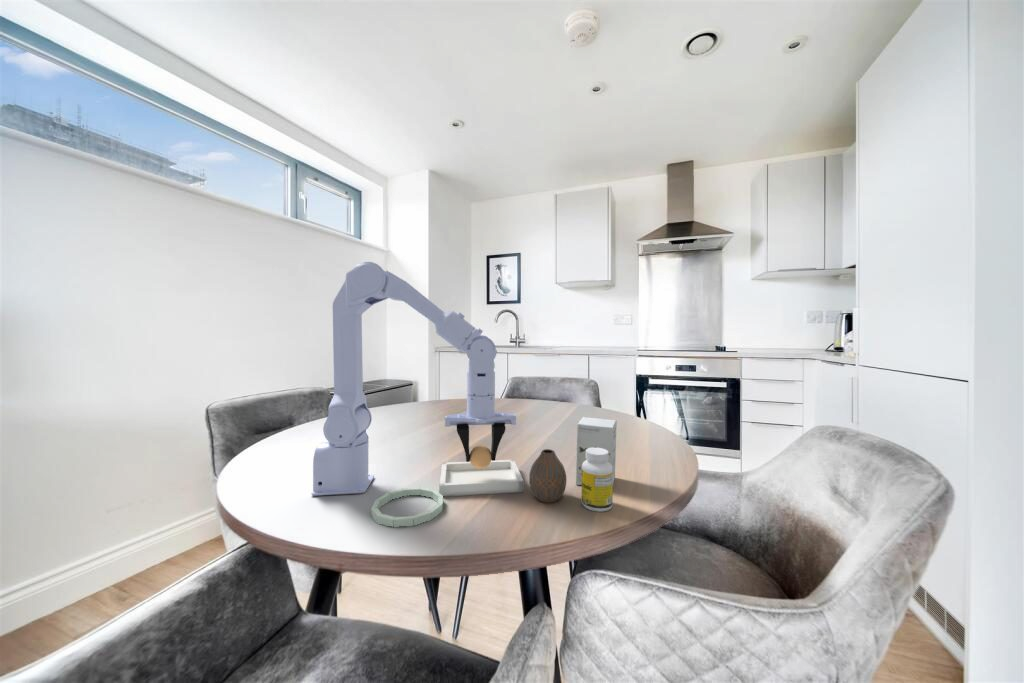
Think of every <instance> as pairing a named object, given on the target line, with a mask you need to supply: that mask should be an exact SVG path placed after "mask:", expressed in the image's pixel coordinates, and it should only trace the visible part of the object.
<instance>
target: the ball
mask: <svg viewBox="0 0 1024 683" xmlns="http://www.w3.org/2000/svg"><path fill="white" fill-rule="evenodd" d="M469 454H470V462H471V464H472V465H473V466H474V467H475V468H478V469H483V468H485V467H487V466H488V465H489V464H490V462H491V461H492V454H491V449H490V448H488V446H485V445H477V446H475V447H473V448H472V449H471V451H469Z"/></svg>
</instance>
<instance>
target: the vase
mask: <svg viewBox="0 0 1024 683" xmlns="http://www.w3.org/2000/svg"><path fill="white" fill-rule="evenodd" d="M530 467H531V468H530V470H529V475H528V481H529V488H530V491H531V493H532V494H533V496H534V497H535V498H536V499H537V500H538V501H539V502H542V503H548V504H549V503H551V504H552V503H555V502H557V501H559V500H560V499H561V498H562V497H563V495H564V493H565V491H566V488H567V472H566V469H565V467H564V464H563V463H562V461H561V460H560V459H559V457H558V456H557V455H556V451H555V450H553V449H550V448H549V449H548V448H546V449H542V450H541V452H540V454H539V456H538V457H537V458H536V459H535V461H534V462H533V463H532V465H531V466H530Z"/></svg>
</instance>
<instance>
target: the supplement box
mask: <svg viewBox="0 0 1024 683" xmlns="http://www.w3.org/2000/svg"><path fill="white" fill-rule="evenodd" d="M617 424H618V420H615V419H606V418H598V417H588V416H587V417H586V416H582V418H581V419H580V420H579V422H578V423H577V424H576V425H577V427H576V465H575V466H576V467H575V471H576V472H575V485H577V486H578V485H579V486H582V464H583V462H584V461H586V460H587V459H586V449H588V448H602V449H605V450H607V451H608V452H609V458H608V459H609V460H608V461H607V462H609V463H610V464H611V465H612V469H613V480H612V481H613V484H612V487H613V486H614V482H615V477H616V454H617V449H616V448H617Z"/></svg>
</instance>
